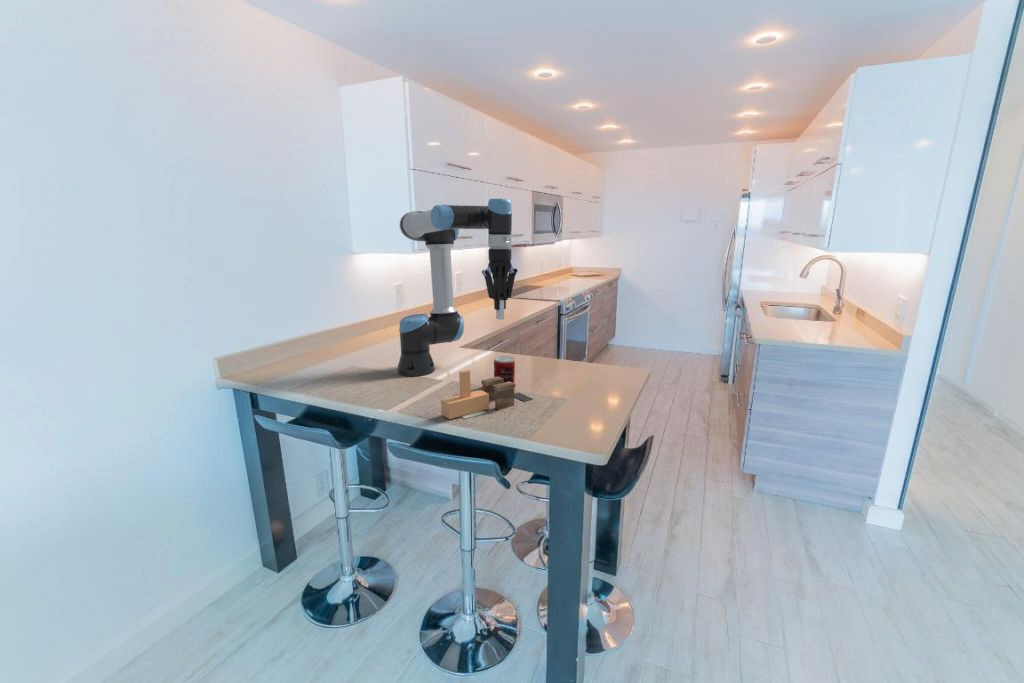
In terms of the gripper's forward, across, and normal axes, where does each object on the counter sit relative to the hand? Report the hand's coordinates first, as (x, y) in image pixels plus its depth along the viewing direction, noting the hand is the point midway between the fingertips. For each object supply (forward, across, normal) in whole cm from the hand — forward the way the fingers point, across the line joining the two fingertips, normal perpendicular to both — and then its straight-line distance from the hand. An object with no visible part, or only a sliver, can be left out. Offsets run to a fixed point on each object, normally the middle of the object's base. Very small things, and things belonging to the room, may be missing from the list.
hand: (500, 318), depth 158 cm
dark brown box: (+28, -4, -5) cm, 29 cm away
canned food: (+29, +8, +9) cm, 31 cm away
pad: (+28, -16, -5) cm, 33 cm away
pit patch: (+28, +6, -4) cm, 29 cm away
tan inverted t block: (+28, -17, -5) cm, 33 cm away
